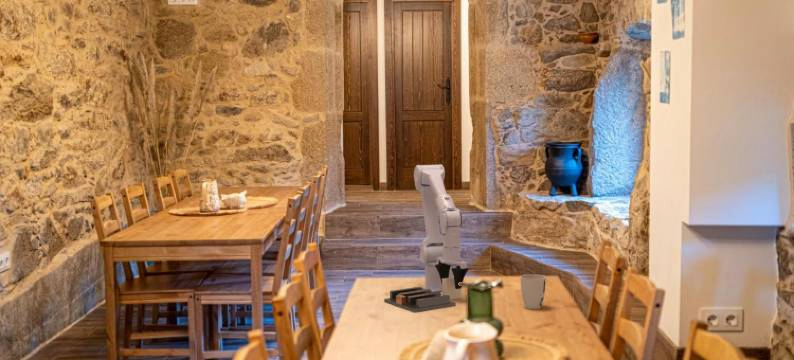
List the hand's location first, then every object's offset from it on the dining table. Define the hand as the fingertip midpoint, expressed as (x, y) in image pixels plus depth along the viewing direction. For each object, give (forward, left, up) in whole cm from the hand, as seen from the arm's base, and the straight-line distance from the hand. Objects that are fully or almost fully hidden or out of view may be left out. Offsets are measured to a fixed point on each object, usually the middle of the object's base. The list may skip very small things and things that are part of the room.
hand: (451, 286), depth 303 cm
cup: (-14, +25, -4) cm, 29 cm away
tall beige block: (0, 0, -4) cm, 4 cm away
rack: (+13, 0, -4) cm, 14 cm away
